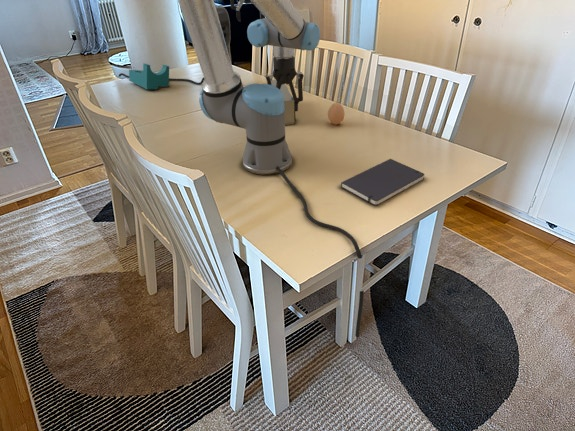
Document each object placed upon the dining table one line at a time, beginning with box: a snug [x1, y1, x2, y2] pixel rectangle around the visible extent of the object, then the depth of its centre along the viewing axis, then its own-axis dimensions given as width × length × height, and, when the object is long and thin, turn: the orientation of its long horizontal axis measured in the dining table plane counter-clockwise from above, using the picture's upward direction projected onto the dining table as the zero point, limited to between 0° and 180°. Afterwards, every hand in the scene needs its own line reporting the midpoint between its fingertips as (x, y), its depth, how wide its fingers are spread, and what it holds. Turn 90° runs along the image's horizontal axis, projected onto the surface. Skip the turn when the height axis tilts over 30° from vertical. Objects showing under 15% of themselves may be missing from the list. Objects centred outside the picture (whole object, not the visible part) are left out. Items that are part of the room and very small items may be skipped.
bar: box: [271, 79, 295, 126], centre depth 157 cm, size 25×6×9 cm, turn 10°
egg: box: [327, 102, 345, 125], centre depth 147 cm, size 6×6×8 cm
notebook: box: [340, 158, 425, 206], centre depth 114 cm, size 13×2×21 cm
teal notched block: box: [128, 63, 170, 90], centre depth 189 cm, size 18×11×10 cm, turn 43°
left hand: (250, 20), depth 157 cm, fingers open, 8 cm apart
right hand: (285, 120), depth 152 cm, fingers closed on bar, 5 cm apart
